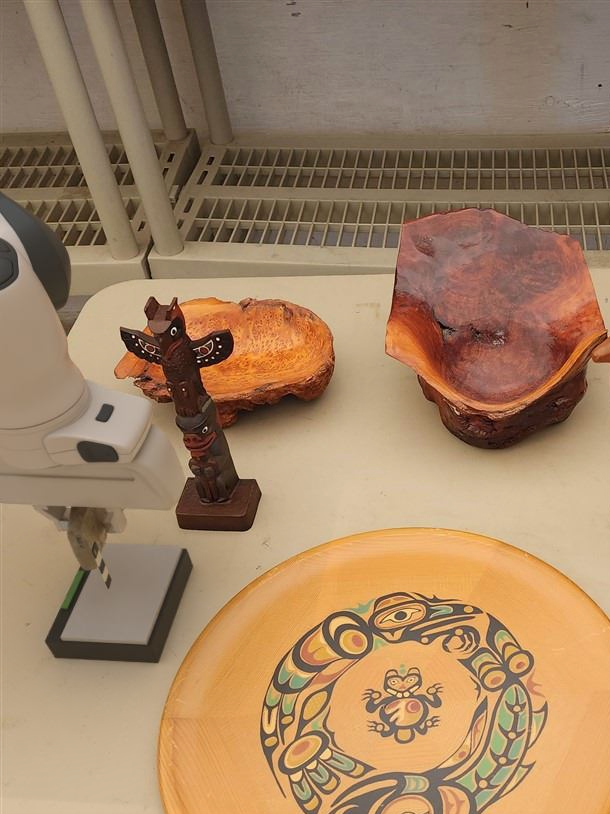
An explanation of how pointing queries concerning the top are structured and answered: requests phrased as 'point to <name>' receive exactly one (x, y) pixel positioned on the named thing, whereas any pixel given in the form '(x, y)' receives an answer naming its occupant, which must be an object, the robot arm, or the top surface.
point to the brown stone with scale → (88, 538)
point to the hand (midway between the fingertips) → (94, 527)
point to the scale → (122, 605)
